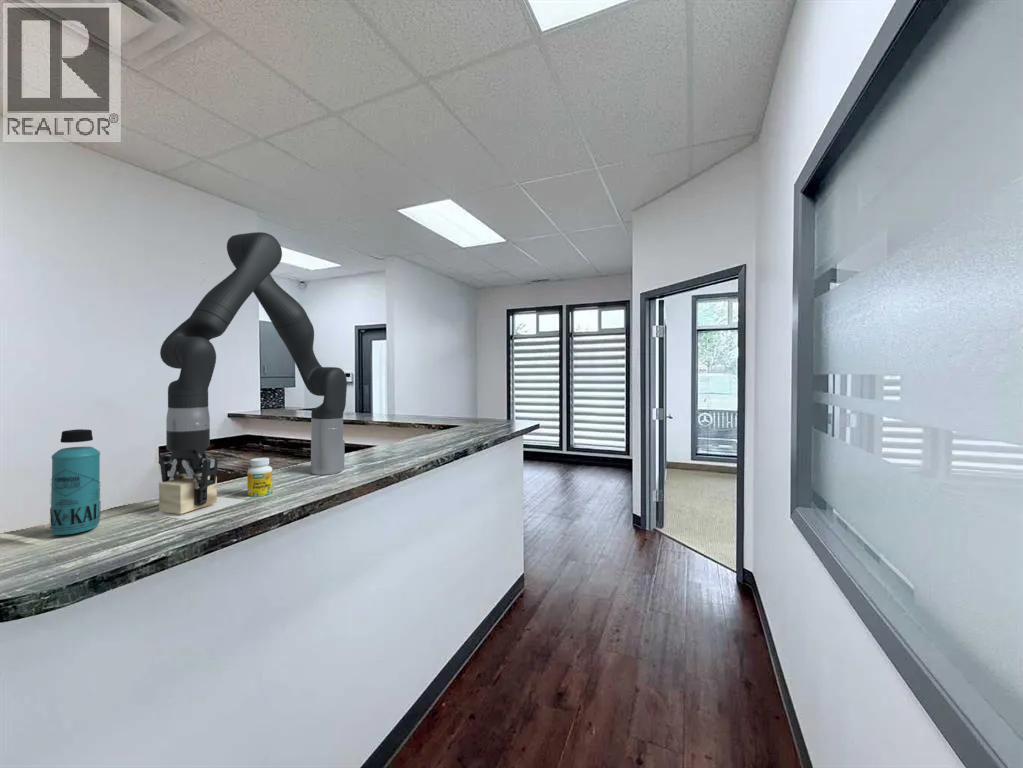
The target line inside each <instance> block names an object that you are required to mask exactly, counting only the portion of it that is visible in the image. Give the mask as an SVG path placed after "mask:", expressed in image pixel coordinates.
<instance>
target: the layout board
mask: <svg viewBox="0 0 1023 768" xmlns="http://www.w3.org/2000/svg"><path fill="white" fill-rule="evenodd" d="M247 501H248V499H247V500H246V499H240V498H232V497H231V498H230V497H221V496H217V503H214V504H211V505H208V506H204V507H201V508H198V509H195V510H192V511H188V512H185V513H182V514H177V513H170V512H162V511H159V510H158V511H154V512H151V513H148V515H149V516H157V517H163V518H164V517H165V518H171V519H180V520H186V521H188V520H191V519H194V518H198V517H201V516H204V515H207V514H210V513H213V512H217V511H219V510H222V509H224V508H227V507H231V506H235V505H237V504H240V503H243V502H247Z"/></svg>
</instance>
